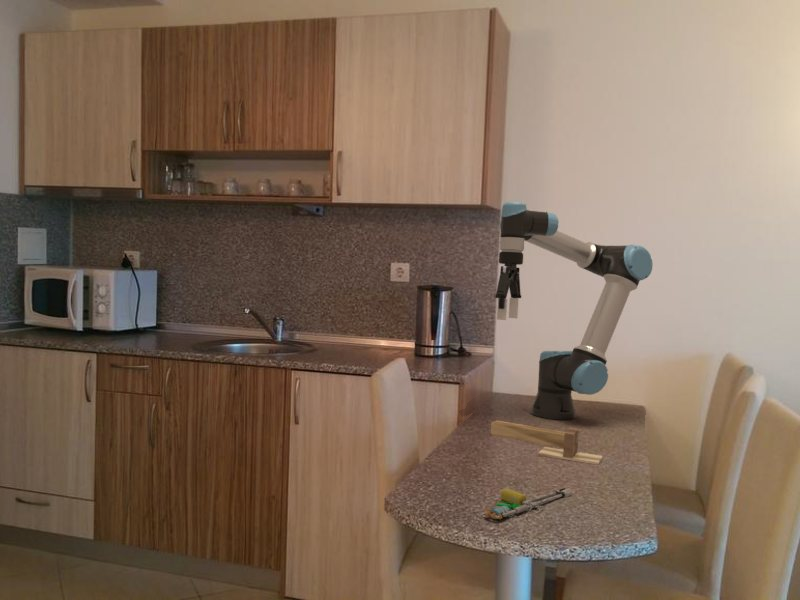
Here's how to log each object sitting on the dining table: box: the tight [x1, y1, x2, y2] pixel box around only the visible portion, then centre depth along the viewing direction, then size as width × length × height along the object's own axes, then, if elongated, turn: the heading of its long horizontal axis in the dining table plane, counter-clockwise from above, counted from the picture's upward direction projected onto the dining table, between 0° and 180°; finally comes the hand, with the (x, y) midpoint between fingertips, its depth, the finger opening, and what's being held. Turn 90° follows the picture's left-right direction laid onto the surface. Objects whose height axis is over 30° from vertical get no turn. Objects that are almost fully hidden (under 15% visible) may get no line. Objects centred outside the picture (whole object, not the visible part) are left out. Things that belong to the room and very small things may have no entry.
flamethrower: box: [484, 487, 573, 520], centre depth 145 cm, size 29×3×10 cm
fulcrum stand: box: [537, 427, 604, 466], centre depth 187 cm, size 8×16×7 cm, turn 66°
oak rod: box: [490, 420, 566, 449], centre depth 204 cm, size 4×24×4 cm, turn 58°
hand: (507, 319), depth 217 cm, fingers open, 13 cm apart
